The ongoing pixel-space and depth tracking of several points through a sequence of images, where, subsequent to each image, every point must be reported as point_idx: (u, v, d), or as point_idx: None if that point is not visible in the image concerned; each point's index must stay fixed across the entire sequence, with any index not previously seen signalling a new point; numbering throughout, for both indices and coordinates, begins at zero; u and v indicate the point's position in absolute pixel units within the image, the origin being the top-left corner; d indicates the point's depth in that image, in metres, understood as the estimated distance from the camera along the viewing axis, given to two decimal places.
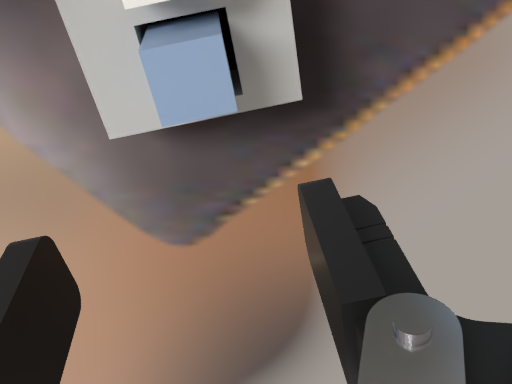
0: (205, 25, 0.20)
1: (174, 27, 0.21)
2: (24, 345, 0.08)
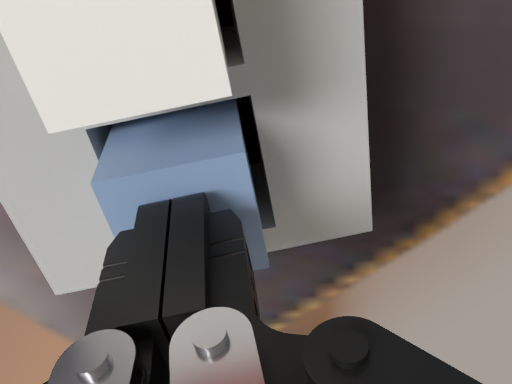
0: (214, 120, 0.11)
1: (161, 117, 0.12)
2: None
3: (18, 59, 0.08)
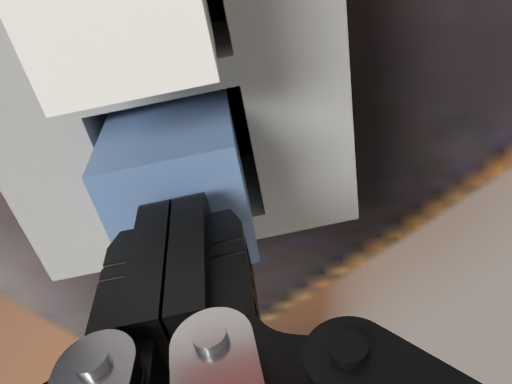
0: (205, 116, 0.12)
1: (153, 114, 0.12)
2: None
3: (18, 46, 0.08)
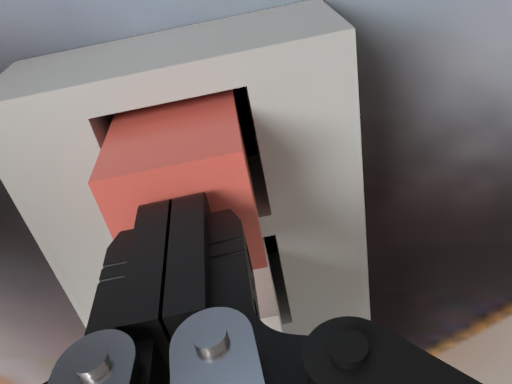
0: None
1: None
2: None
3: None
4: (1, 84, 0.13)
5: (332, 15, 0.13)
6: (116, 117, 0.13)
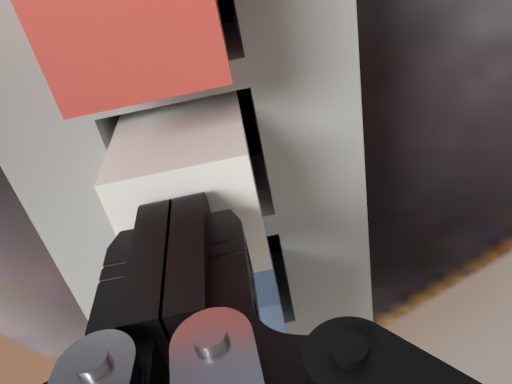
0: None
1: None
2: None
3: None
4: None
5: None
6: None
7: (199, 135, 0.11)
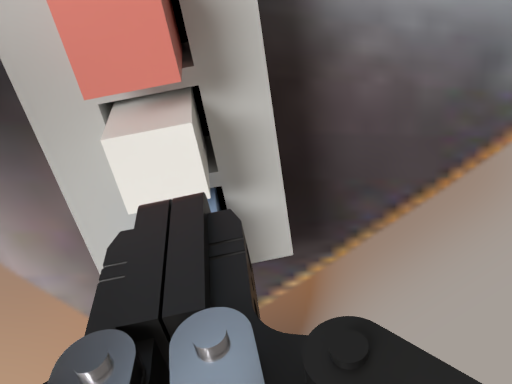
0: None
1: None
2: None
3: (118, 185, 0.18)
4: None
5: None
6: None
7: (164, 112, 0.18)
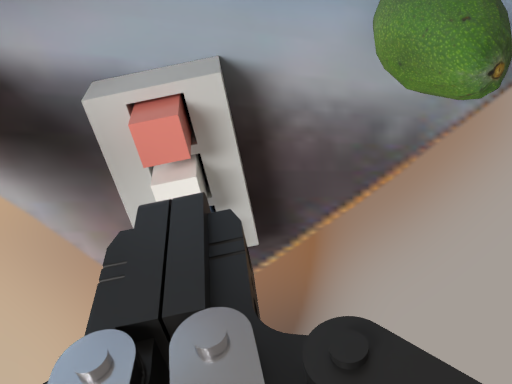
0: None
1: None
2: None
3: None
4: (92, 91, 0.34)
5: (217, 65, 0.34)
6: (135, 105, 0.33)
7: (182, 169, 0.35)
